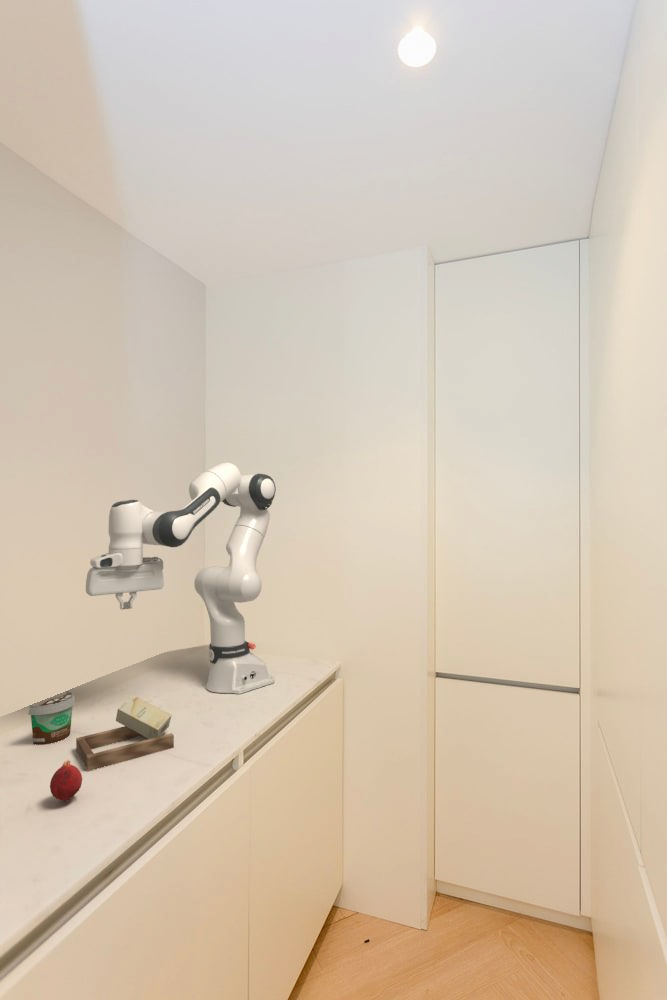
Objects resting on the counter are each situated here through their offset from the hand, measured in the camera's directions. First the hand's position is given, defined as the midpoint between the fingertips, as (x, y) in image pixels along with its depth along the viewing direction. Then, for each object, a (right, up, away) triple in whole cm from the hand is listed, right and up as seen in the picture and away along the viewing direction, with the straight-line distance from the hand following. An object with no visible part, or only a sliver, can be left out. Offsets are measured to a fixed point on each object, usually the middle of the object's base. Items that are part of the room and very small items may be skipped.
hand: (126, 608), depth 148 cm
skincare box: (+14, -28, -11) cm, 34 cm away
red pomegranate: (+4, -31, -40) cm, 51 cm away
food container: (-13, -31, -10) cm, 36 cm away
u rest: (+6, -31, -17) cm, 36 cm away
